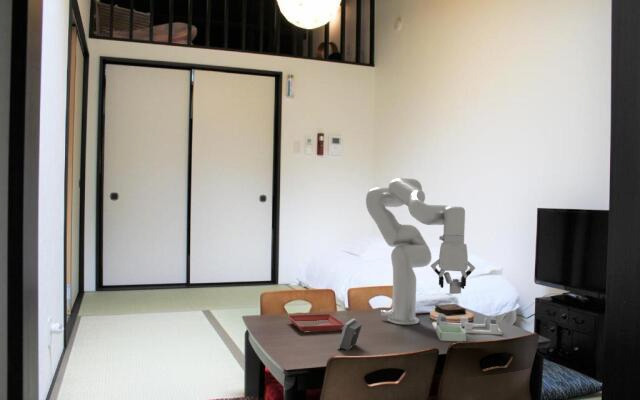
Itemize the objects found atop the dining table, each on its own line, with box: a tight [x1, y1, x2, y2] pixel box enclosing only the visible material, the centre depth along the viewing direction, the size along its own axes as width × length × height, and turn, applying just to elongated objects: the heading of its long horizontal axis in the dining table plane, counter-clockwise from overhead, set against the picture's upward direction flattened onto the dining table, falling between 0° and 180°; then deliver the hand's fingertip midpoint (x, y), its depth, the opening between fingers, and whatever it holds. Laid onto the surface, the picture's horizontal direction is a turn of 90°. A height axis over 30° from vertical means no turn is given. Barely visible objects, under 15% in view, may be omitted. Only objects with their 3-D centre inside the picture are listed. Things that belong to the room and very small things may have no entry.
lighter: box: [443, 271, 462, 295], centre depth 199 cm, size 7×2×8 cm, turn 114°
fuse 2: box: [486, 315, 497, 331], centre depth 210 cm, size 2×7×5 cm, turn 175°
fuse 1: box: [437, 313, 447, 325], centre depth 212 cm, size 2×7×5 cm, turn 175°
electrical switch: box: [336, 318, 363, 351], centre depth 182 cm, size 9×5×9 cm, turn 158°
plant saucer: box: [287, 313, 345, 333], centre depth 208 cm, size 18×18×3 cm
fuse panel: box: [431, 315, 503, 335], centre depth 211 cm, size 25×11×4 cm, turn 85°
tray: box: [435, 325, 467, 342], centre depth 199 cm, size 9×11×3 cm
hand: (452, 287), depth 199 cm, fingers closed on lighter, 7 cm apart
